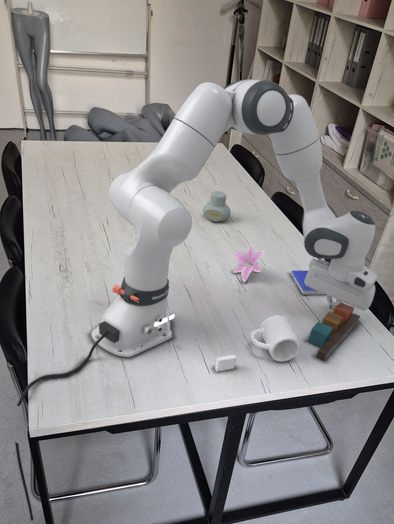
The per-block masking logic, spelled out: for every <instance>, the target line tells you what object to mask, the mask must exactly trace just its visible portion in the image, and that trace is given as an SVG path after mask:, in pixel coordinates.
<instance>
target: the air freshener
mask: <svg viewBox="0 0 394 524" xmlns="http://www.w3.org/2000/svg"><path fill="white" fill-rule="evenodd" d="M226 202H227V194H226V192H224V191H220V190H215V191H212V192H211V193H210V201H209V202H207V203H206V204H204V206H203V208H202V215H204V217H205V218H206V219H208V220H209V221H211V222H214V223H215V222H223V221H225V220H228V219H229V217H230V216H231V214H232V213H231V212H232V211H231V207H230V206H229V205H228V204H226Z"/></svg>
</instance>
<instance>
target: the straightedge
mask: <svg viewBox="0 0 394 524" xmlns="http://www.w3.org/2000/svg"><path fill="white" fill-rule="evenodd" d="M360 319H361V315H359V314H357V313H354V312H353V313H352V315H351V316H350V317H349V318H348V319H347V320H346V321H345V322H344V323H343V324H342V325H341V327H340V328H339V329H338V330H337V331H336V332H335V333H334V334H333V335H332V336H331V335H330V338H329V340H328V341H327V342H326V343H325V344H324V345H323V346H322V347H319V349H318V351H317V354H316V358H317V359H319V360H322V361H324V362H325V361H326V360H327V359H328V357H330V355H331V354H332V353H333V352H334V351H335V350H336V348H337V347H338V346H339V345H340V344H341V343H342V341H343V340H345V338H346V337H347V336H348V335H349V334H350V333H351V331H352V330H354V328H355V327H356V326H357V325H358V323H359V321H360Z"/></svg>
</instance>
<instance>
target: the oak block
mask: <svg viewBox="0 0 394 524" xmlns="http://www.w3.org/2000/svg"><path fill="white" fill-rule="evenodd" d="M343 318H344V317H342V316H339V315H337V314H335V313H333V311H331V310H330V311H328V312H327V313H326V314H325V315H324V316H323V317H322V321H321V323H323V324H325V325H327V326H330V327H332V328H333V330H332V333H331V335H330V337H331V336H332V335H333V334H334V333H335V332H336V331H337V330H338V329H339V328H340V327H341V324H342V321H343Z"/></svg>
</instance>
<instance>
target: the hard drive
mask: <svg viewBox="0 0 394 524" xmlns="http://www.w3.org/2000/svg"><path fill="white" fill-rule="evenodd" d="M308 271H309V270H291V272H290V275H291V277H292V278H293V280H294V281H295V283H296V285H297V286H298V288H299V290H300V291H301V293H302V295H325V294H324V293H321V292H319V291H317V290H315V289H312V288H310V287H308V286H306V285H305V283H304V281H305V278H306V275H307V273H308Z"/></svg>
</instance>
